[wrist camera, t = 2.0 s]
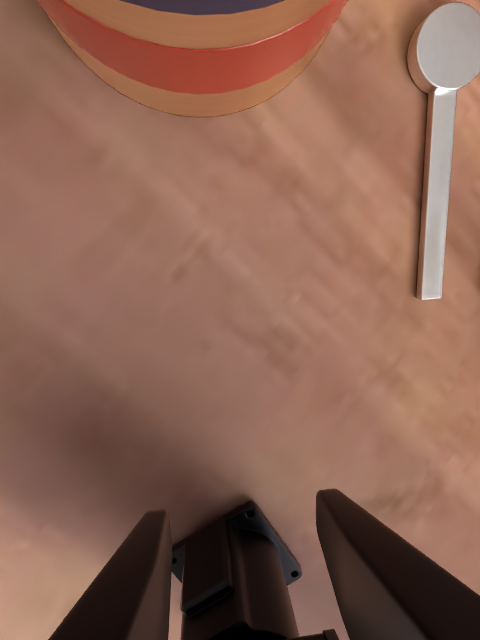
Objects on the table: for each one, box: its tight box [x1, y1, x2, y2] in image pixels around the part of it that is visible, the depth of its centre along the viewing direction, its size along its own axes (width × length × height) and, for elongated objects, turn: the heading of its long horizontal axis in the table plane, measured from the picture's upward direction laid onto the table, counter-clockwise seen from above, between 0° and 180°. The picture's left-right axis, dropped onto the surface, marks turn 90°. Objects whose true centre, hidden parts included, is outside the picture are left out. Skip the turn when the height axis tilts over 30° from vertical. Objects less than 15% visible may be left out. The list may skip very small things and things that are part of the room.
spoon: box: [407, 2, 480, 300], centre depth 17 cm, size 14×4×1 cm, turn 3°
